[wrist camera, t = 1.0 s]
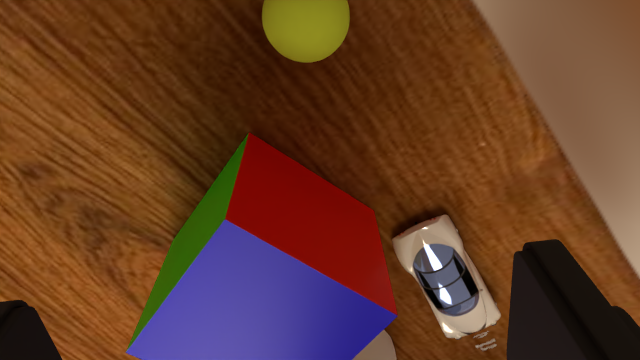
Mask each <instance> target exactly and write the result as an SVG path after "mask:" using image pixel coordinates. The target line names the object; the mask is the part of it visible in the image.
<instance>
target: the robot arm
mask: <svg viewBox="0 0 640 360" xmlns="http://www.w3.org/2000/svg"><path fill="white" fill-rule="evenodd" d="M0 360H62V358H61V356H60V354H59V352H58V351H57V349H56V347H55V345H54V343H53V341H52V339H51V337H50V336H49V334H48V332H47V330H46V328H45V326H44V324H43V322H42V320H41V319H40V317H39V315H38V313H37V311H36V310H35V308H33V307H30V306H28V305H27V303H26V302H24V301H22V300H14V301H5V302H0ZM507 360H640V327H639V326H638V325H637V324H636V322H635V321H634V320H633V319H632V317H631V316H630V315H629V314H628V313H627V312H626V311H625V310H624V309H622V308H620V307H618V306H611V305H610V304H609V302H608V301H607V300H606V298H605V297H604V296H603V295H602V293H601V292H600V291H599V289H598V288H597V287H596V286H595V284H594V283H593V282H592V281H591V279H590V278H589V277H588V275H587V274H586V273H585V272H584V270H583V269H582V268H581V267H580V265H579V264H578V263H577V261H576V260H575V259H574V258H573V256H572V255H571V254H570V253H569V251H568V250H567V249H566V247H565V246H564V245H563V244H562V243H561V242H560V241H559V240H557V239H554V240H545V241H536V242H527V243H525V244H524V246H523V250H522V251H517V252H515V254H514V260H513V273H512V287H511V300H510V313H509V327H508V340H507Z"/></svg>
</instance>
